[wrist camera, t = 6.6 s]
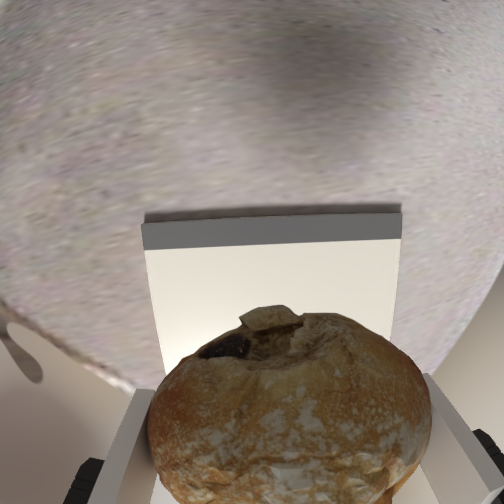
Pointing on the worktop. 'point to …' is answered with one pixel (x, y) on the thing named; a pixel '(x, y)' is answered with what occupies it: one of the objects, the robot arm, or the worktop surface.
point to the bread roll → (290, 414)
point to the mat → (268, 272)
